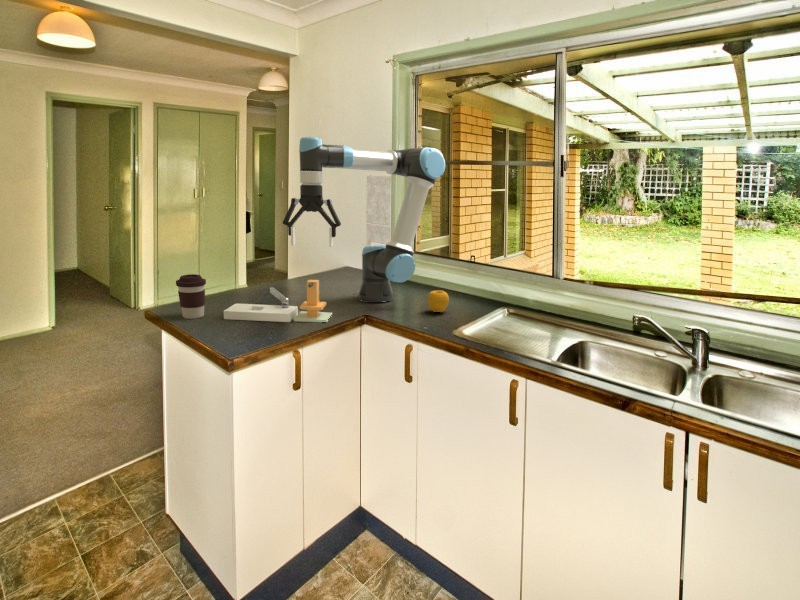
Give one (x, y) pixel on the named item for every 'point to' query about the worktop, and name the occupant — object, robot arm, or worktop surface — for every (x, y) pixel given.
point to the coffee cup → (191, 295)
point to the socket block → (261, 312)
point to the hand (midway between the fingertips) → (312, 245)
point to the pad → (303, 317)
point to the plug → (313, 299)
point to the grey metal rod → (279, 296)
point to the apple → (438, 301)
